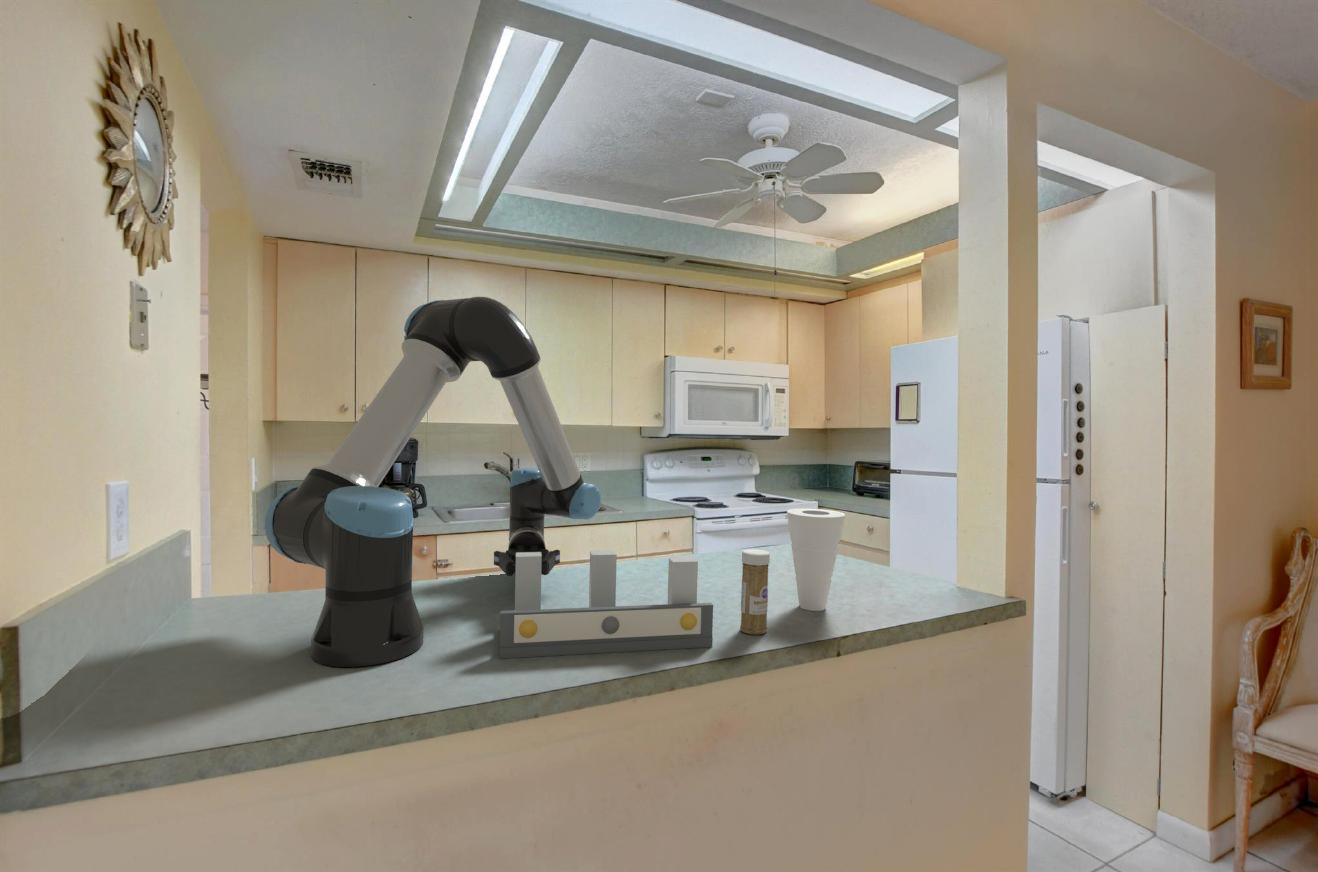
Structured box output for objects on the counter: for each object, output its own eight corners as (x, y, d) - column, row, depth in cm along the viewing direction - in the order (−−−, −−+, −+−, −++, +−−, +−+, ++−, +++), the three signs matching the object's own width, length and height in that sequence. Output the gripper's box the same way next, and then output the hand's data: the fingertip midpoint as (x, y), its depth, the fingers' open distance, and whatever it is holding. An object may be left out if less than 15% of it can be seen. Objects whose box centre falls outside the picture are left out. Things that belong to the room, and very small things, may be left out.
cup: (773, 601, 123) (776, 509, 122) (819, 596, 126) (822, 507, 126) (804, 618, 113) (807, 518, 112) (853, 613, 116) (857, 516, 116)
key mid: (590, 622, 102) (592, 555, 102) (588, 616, 105) (590, 551, 105) (615, 621, 103) (616, 554, 103) (612, 615, 106) (614, 550, 105)
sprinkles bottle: (761, 637, 102) (764, 555, 102) (735, 632, 105) (737, 551, 104) (771, 629, 106) (773, 550, 106) (745, 624, 109) (748, 547, 108)
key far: (671, 631, 99) (673, 562, 98) (667, 625, 102) (668, 557, 101) (695, 630, 100) (697, 561, 99) (690, 624, 103) (692, 557, 102)
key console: (499, 659, 91) (500, 614, 90) (502, 628, 104) (502, 588, 103) (712, 647, 97) (714, 605, 97) (690, 619, 110) (691, 582, 110)
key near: (514, 625, 100) (515, 556, 99) (514, 619, 102) (515, 552, 102) (540, 624, 100) (541, 556, 100) (539, 618, 103) (541, 552, 103)
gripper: (558, 565, 132) (566, 599, 109) (494, 567, 129) (487, 602, 106) (559, 530, 131) (567, 556, 108) (494, 531, 129) (488, 558, 105)
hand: (527, 579), depth 107 cm, fingers closed
